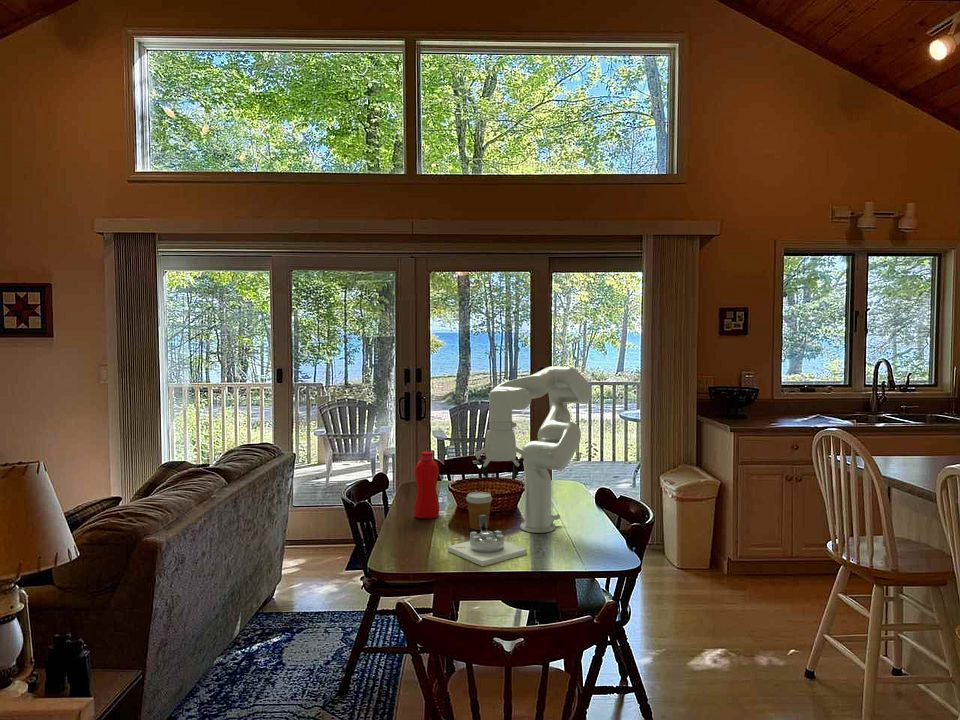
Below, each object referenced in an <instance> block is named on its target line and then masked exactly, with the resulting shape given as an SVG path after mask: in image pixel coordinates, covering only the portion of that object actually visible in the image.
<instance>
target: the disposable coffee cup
mask: <svg viewBox="0 0 960 720" xmlns="http://www.w3.org/2000/svg"><path fill="white" fill-rule="evenodd" d="M465 499H466V501H467V510H468V515H469V516H468V517H469V524H470V529H472V530H473V531H477V530H478V531H481V528H480V515H487V528H486V529H487V530H488V528H489V522H490V513H491V505H492V500H493V497H492V495H491V493H489V492H485V491H474V492H469V493H468V494H467V495H466V497H465Z"/></svg>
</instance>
